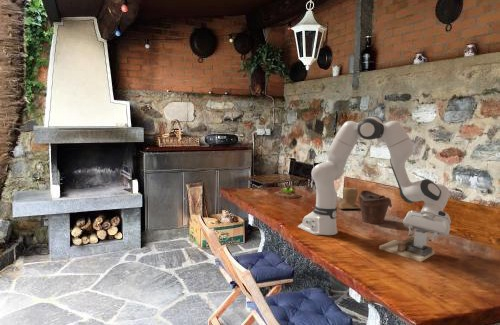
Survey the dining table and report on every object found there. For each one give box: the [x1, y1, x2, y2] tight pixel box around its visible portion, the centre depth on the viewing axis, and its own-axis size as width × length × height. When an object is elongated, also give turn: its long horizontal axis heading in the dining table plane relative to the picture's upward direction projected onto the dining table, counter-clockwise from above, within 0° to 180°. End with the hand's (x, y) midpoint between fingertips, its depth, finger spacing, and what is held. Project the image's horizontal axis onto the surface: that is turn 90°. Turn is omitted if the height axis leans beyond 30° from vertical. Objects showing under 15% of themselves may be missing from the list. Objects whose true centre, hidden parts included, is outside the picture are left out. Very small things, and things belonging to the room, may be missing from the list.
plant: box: [273, 181, 302, 200], centre depth 289 cm, size 20×20×11 cm
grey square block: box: [413, 229, 428, 250], centre depth 168 cm, size 4×4×10 cm
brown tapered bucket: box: [357, 190, 393, 225], centre depth 222 cm, size 18×20×18 cm
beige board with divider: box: [378, 236, 435, 263], centre depth 173 cm, size 20×15×6 cm
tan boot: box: [337, 187, 361, 210], centre depth 253 cm, size 15×12×15 cm
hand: (420, 237), depth 167 cm, fingers open, 8 cm apart
